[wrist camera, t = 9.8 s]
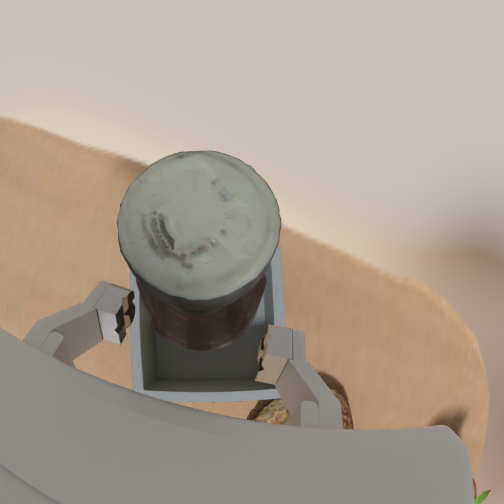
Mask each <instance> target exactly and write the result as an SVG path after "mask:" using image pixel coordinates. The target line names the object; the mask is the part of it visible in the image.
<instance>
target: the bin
mask: <svg viewBox="0 0 504 504" xmlns="http://www.w3.org/2000/svg"><path fill="white" fill-rule="evenodd" d="M265 276H266V278H267V283H266V287H265V290H264V293H263V296H262V299H261V302H260V305H259V307H258V310H257V313H256V316H255V318H254V321H253V323H252V325H251V326H250V328H249V329H248V330H247V332H246V333H245V334H244V335H243V336H241V337H240V338H239V339H238V340H237V341H235V342H233V343H232V344H230V345H228V346H225V347H223V348H220V349H216V350H211V351H193V350H188V349H184V348H181V347H178V346H176V345H174V344H172V343H170V342H168V341H167V340H166V339H164V338H163V337H162V336H161V335H160V334H159V333H158V332H157V331H156V330H155V329H154V327H153V326H152V324H151V323H150V321H149V318H148V316H147V313H146V310H145V307H144V304H143V301H142V298H141V295H140V293H139V290H138V287H137V283H136V277H135V276H134V275H133V273H132V271H131V270H130V290H133V291H134V296H135V298H134V300H133V301H132V302H133V303H134V305H135V316H134V320H133V322H132V324H131V326H130V343H131V361H132V374H133V385H134V391H136V392H139V393H142V394H145V395H148V396H151V397H154V398H157V399H161V400H164V401H171V402H232V401H252V400H266V399H277V398H281V396H280V394H279V392H278V391H277V389H276V387H275V385H274V384H269V383H264V382H259V381H255V375H256V367H257V364H258V362H259V361H258V360H257V356H258V349H259V345H260V342H261V339H262V337H264V332H265V328H266V326H267V324H270V325H275V326H280V327H285V312H284V293H283V275H282V259H281V247H277V249H276V252H275V254H274V256H273V258H272V260H271V262H270V264H269V266H268V268H267V269H266V271H265Z"/></svg>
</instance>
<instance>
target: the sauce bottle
mask: <svg viewBox="0 0 504 504" xmlns="http://www.w3.org/2000/svg"><path fill="white" fill-rule="evenodd" d="M117 226H118V241H119V246H120V251H121V253H122V255H123V257H124V259H125V261H126V262H127V264H128V266H129V268H130V270H131V271H132V273H133V275H134V276H135V277H136V283H137V287H138V290H139V293H140V295H141V298H142V301H143V304H144V307H145V310H146V313H147V316H148V318H149V321H150V323H151V324H152V326H153V327H154V329H155V330H156V331H157V332H158V333H159V334H160V335H161V336H162V337H163V338H164V339H166V340H167V341H168V342H170V343H172V344H174V345H176V346H178V347H181V348H184V349H188V350H193V351H211V350H216V349H220V348H223V347H225V346H228V345H230V344H232V343H233V342H235V341H237V340H238V339H239V338H240V337H241V336H243V335H244V334H245V333H246V332H247V330H248V329H249V328H250V326H251V325H252V323H253V321H254V318H255V316H256V313H257V310H258V307H259V305H260V302H261V299H262V296H263V293H264V290H265V287H266V283H267V278H266V276H265V271H266V269H267V268H268V266H269V264H270V262H271V260H272V258H273V256H274V254H275V252H276V249H277V246H278V243H279V236H280V229H281V217H280V214H279V207H278V204H277V200H276V198H275V196H274V194H273V192H272V190H271V189H270V187H269V185H268V184H267V182H266V181H265V180H264V179H263V178H262V177H261V176H260V175H259V174H258V173H256V171H255V170H254V169H253V168H252V167H251V166H249V165H247V164H245V163H244V162H242V161H241V160H239V159H237V158H235V157H232V156H230V155H227V154H223V153H220V152H216V151H190V152H179V153H175V154H172V155H169V156H167V157H164V158H162V159H160V160H158V161H156V162H155V163H153V164H151V165H150V166H149V167H148V169H147V170H146V171H145V172H143V173H142V174H141V175H139V176H138V177H137V178H136V179H135V181H134V182H133V183H132V184H131V185H130V186H129V187H128V190H127V192H126V194H125V196H124V198H123V200H122V202H121V204H120V211H119V215H118V219H117Z"/></svg>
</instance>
